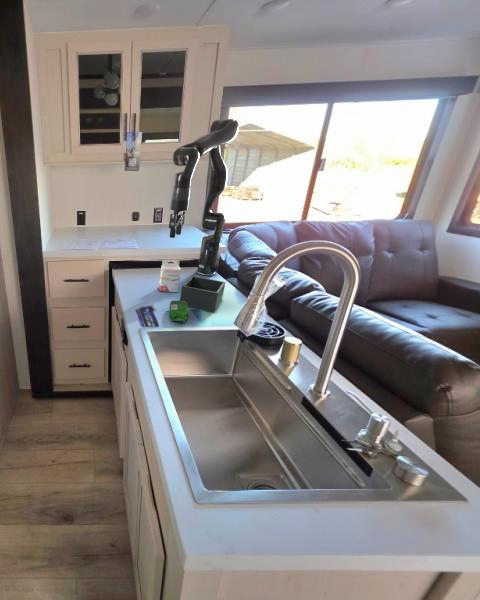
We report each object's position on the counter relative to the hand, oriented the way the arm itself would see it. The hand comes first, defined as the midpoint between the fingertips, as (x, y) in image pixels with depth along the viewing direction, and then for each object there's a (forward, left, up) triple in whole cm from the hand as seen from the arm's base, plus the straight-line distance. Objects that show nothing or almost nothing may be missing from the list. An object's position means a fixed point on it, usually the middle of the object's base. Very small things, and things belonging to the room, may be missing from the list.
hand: (175, 236), depth 142 cm
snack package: (+26, +13, -27) cm, 39 cm away
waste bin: (+6, +17, -27) cm, 32 cm away
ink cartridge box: (0, 0, -27) cm, 27 cm away
